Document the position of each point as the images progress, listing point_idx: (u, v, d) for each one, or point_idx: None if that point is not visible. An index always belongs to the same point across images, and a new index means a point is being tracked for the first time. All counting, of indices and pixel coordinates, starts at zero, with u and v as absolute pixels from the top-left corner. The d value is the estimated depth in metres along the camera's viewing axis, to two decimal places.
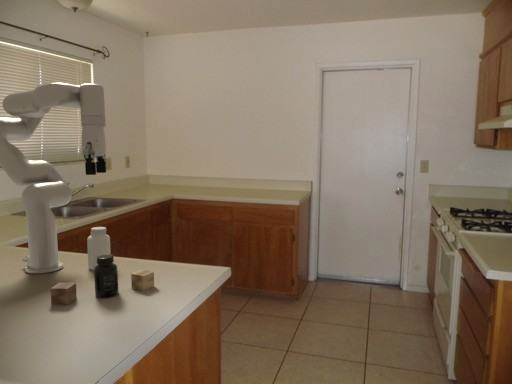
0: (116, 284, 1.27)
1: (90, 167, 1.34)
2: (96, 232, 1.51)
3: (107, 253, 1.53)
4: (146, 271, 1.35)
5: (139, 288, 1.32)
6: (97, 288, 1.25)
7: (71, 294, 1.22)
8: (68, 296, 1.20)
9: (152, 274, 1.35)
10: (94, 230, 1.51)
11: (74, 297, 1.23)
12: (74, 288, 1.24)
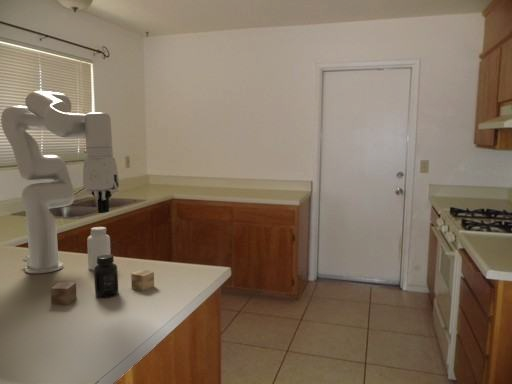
0: (116, 284, 1.27)
1: (107, 204, 1.30)
2: (96, 232, 1.51)
3: (107, 253, 1.53)
4: (146, 271, 1.35)
5: (139, 288, 1.32)
6: (97, 288, 1.25)
7: (71, 294, 1.22)
8: (68, 296, 1.20)
9: (152, 274, 1.35)
10: (94, 230, 1.51)
11: (74, 297, 1.23)
12: (74, 288, 1.24)
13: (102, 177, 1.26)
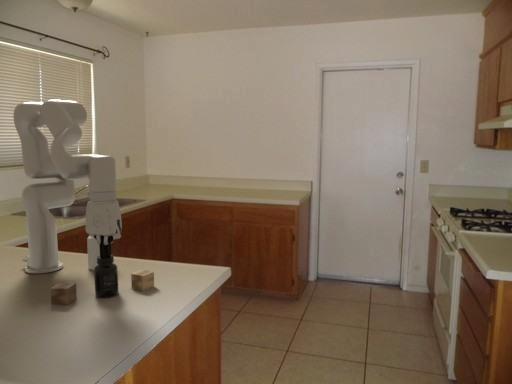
0: (116, 284, 1.27)
1: (110, 248, 1.27)
2: None
3: None
4: (146, 271, 1.35)
5: (139, 288, 1.32)
6: (97, 288, 1.25)
7: (71, 294, 1.22)
8: (68, 296, 1.20)
9: (152, 274, 1.35)
10: None
11: (74, 297, 1.23)
12: (74, 288, 1.24)
13: (105, 222, 1.22)
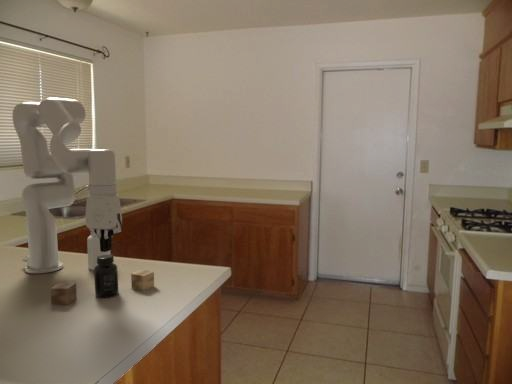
0: (116, 284, 1.27)
1: (110, 243, 1.26)
2: None
3: (107, 253, 1.53)
4: (146, 271, 1.35)
5: (139, 288, 1.32)
6: (97, 288, 1.25)
7: (71, 294, 1.22)
8: (68, 296, 1.20)
9: (152, 274, 1.35)
10: None
11: (74, 297, 1.23)
12: (74, 288, 1.24)
13: (105, 216, 1.22)
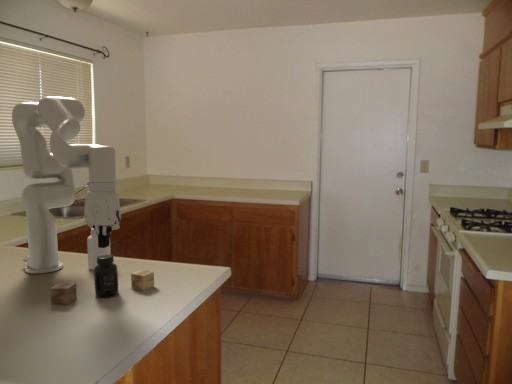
0: (116, 284, 1.27)
1: (108, 239, 1.27)
2: None
3: (107, 253, 1.53)
4: (146, 271, 1.35)
5: (139, 288, 1.32)
6: (97, 288, 1.25)
7: (71, 294, 1.22)
8: (68, 296, 1.20)
9: (152, 274, 1.35)
10: (94, 230, 1.51)
11: (74, 297, 1.23)
12: (75, 288, 1.24)
13: (104, 213, 1.22)
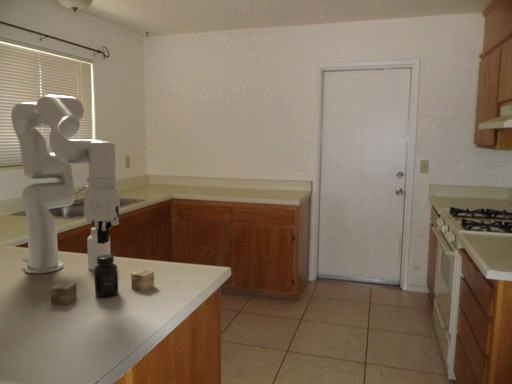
0: (116, 284, 1.27)
1: (107, 235, 1.27)
2: (96, 232, 1.51)
3: (107, 253, 1.53)
4: (146, 271, 1.35)
5: (139, 288, 1.32)
6: (97, 288, 1.25)
7: (71, 294, 1.22)
8: (68, 296, 1.20)
9: (152, 274, 1.35)
10: (94, 230, 1.51)
11: (74, 297, 1.23)
12: (74, 288, 1.24)
13: (103, 209, 1.22)
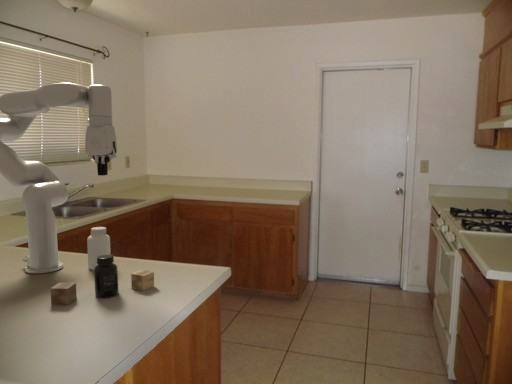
0: (116, 284, 1.27)
1: (106, 168, 1.45)
2: (96, 232, 1.51)
3: (107, 253, 1.53)
4: (146, 271, 1.35)
5: (139, 288, 1.32)
6: (97, 288, 1.25)
7: (71, 294, 1.22)
8: (68, 296, 1.20)
9: (152, 274, 1.35)
10: (94, 230, 1.51)
11: (74, 297, 1.23)
12: (74, 288, 1.24)
13: (102, 143, 1.41)
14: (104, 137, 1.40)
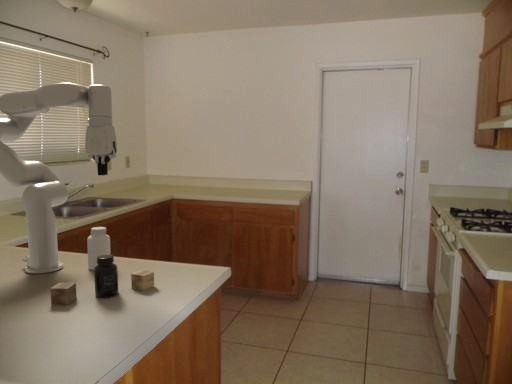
0: (116, 284, 1.27)
1: (106, 168, 1.45)
2: (96, 232, 1.51)
3: (107, 253, 1.53)
4: (146, 271, 1.35)
5: (139, 288, 1.32)
6: (97, 288, 1.25)
7: (71, 294, 1.22)
8: (68, 296, 1.20)
9: (152, 274, 1.35)
10: (94, 230, 1.51)
11: (74, 297, 1.23)
12: (74, 288, 1.24)
13: (102, 143, 1.41)
14: (104, 137, 1.40)
